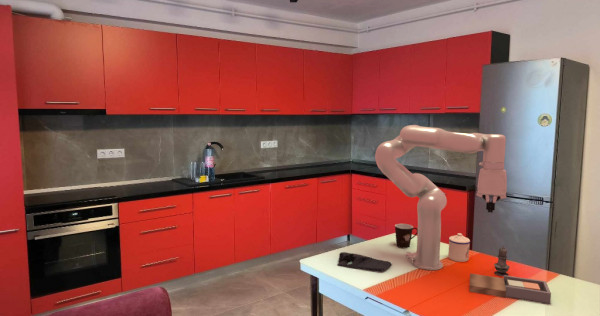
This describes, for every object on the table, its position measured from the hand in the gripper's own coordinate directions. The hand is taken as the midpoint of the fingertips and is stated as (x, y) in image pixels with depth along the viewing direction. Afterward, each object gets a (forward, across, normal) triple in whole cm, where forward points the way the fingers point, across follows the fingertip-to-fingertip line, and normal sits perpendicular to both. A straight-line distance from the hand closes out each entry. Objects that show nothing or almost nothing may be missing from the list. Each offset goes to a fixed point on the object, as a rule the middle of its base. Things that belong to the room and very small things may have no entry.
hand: (490, 211), depth 162 cm
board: (+27, 0, -11) cm, 29 cm away
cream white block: (+27, +10, -11) cm, 30 cm away
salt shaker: (+27, +6, +6) cm, 29 cm away
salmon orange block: (+27, +15, -11) cm, 32 cm away
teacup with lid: (+27, -11, +19) cm, 35 cm away
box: (+27, +13, -11) cm, 32 cm away
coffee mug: (+27, -35, +25) cm, 51 cm away
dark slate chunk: (+28, -48, -6) cm, 56 cm away
